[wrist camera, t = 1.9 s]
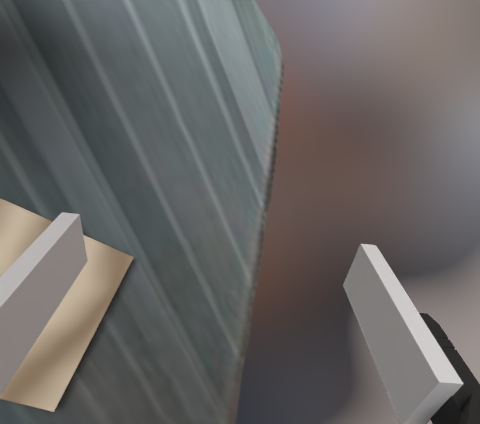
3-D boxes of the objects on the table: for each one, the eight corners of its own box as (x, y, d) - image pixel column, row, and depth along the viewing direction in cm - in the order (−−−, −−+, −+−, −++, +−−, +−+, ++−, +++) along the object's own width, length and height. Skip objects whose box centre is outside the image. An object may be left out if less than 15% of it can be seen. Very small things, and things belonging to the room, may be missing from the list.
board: (-179, 349, 24) (-189, 353, 23) (-44, 180, 29) (-48, 177, 28) (54, 407, 30) (53, 411, 29) (132, 257, 35) (133, 257, 34)
